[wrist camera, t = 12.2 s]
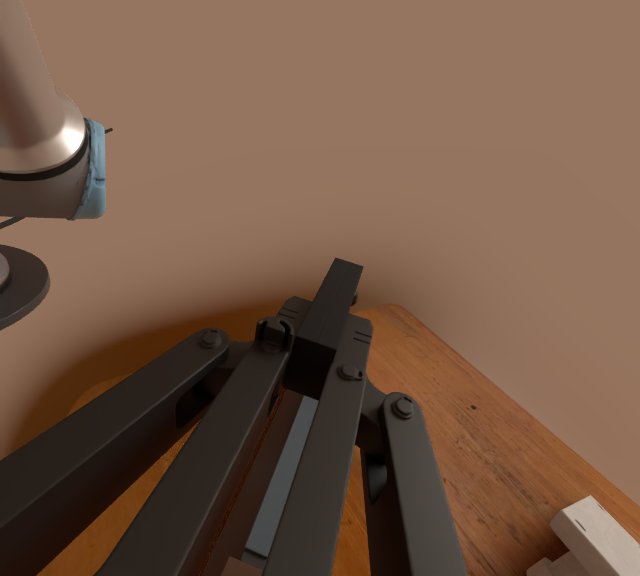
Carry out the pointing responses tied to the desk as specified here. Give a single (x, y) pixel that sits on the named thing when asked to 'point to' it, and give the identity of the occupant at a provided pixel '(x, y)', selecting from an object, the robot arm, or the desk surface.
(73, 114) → the robot arm
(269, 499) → the sliding lever mechanism
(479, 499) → the desk surface
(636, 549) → the handle
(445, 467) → the desk surface
